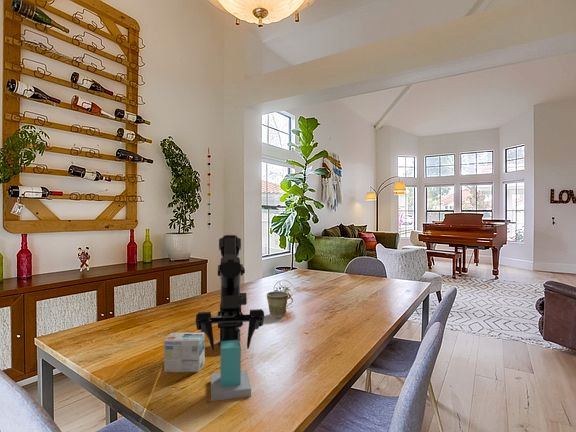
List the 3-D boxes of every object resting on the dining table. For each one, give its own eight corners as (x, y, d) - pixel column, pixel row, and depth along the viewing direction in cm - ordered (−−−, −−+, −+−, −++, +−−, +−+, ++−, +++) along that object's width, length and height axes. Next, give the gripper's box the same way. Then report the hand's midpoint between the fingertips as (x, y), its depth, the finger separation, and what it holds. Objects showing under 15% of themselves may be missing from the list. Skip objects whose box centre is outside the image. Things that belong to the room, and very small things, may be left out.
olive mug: (262, 316, 151) (262, 294, 151) (273, 310, 160) (273, 290, 160) (287, 321, 145) (287, 298, 145) (297, 314, 154) (297, 293, 154)
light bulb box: (205, 365, 104) (205, 331, 103) (200, 376, 97) (200, 340, 97) (170, 365, 103) (170, 331, 103) (163, 376, 96) (163, 340, 96)
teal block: (220, 377, 90) (220, 341, 90) (238, 375, 91) (239, 339, 91) (221, 387, 85) (221, 348, 85) (240, 384, 86) (240, 347, 86)
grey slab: (210, 380, 92) (210, 373, 92) (246, 376, 94) (246, 369, 94) (211, 401, 82) (211, 393, 82) (251, 396, 85) (251, 388, 85)
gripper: (196, 283, 91) (192, 338, 80) (263, 281, 94) (268, 334, 84) (198, 303, 99) (195, 356, 88) (260, 300, 102) (264, 351, 91)
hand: (230, 349), depth 88 cm, fingers open, 9 cm apart
